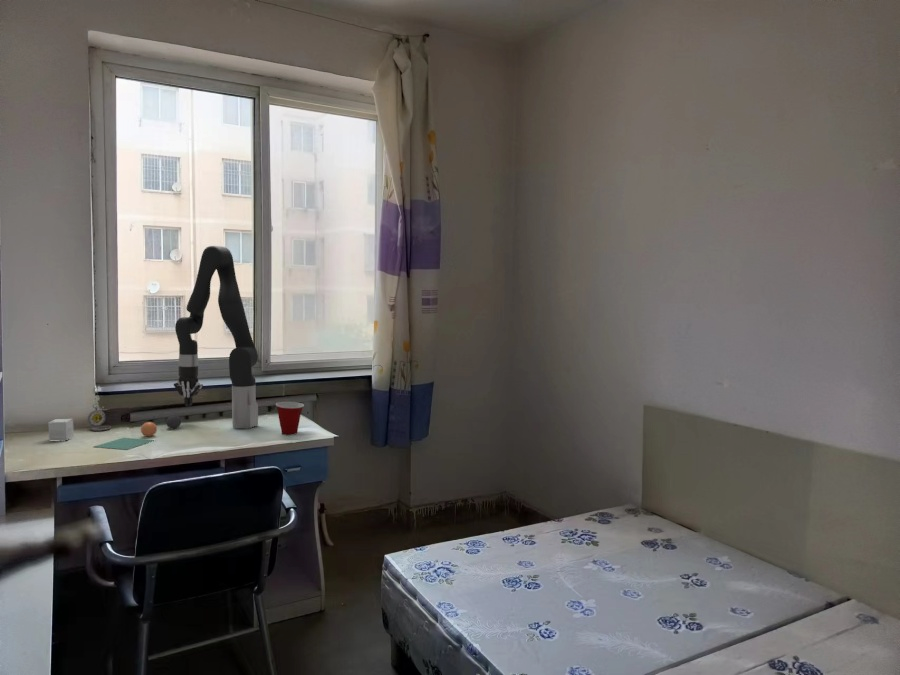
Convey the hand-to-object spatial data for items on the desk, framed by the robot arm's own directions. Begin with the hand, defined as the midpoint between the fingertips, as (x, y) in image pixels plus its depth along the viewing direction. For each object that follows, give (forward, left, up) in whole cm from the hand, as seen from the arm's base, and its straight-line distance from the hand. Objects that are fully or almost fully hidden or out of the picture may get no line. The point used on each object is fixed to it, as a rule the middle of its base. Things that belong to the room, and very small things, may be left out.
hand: (188, 405), depth 252 cm
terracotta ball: (0, +24, -5) cm, 24 cm away
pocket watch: (+27, +19, -8) cm, 33 cm away
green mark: (0, +36, -8) cm, 37 cm away
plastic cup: (-49, +5, -8) cm, 50 cm away
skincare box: (+27, +37, -8) cm, 46 cm away
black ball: (0, +10, -5) cm, 11 cm away
